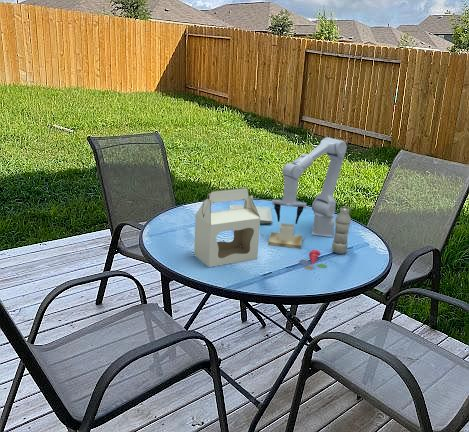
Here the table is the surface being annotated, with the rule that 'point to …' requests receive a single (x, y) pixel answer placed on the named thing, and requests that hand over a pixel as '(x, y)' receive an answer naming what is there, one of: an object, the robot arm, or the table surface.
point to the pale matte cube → (286, 232)
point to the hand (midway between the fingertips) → (287, 221)
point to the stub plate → (276, 242)
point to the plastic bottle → (341, 231)
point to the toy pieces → (313, 260)
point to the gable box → (235, 219)
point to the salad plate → (262, 211)
